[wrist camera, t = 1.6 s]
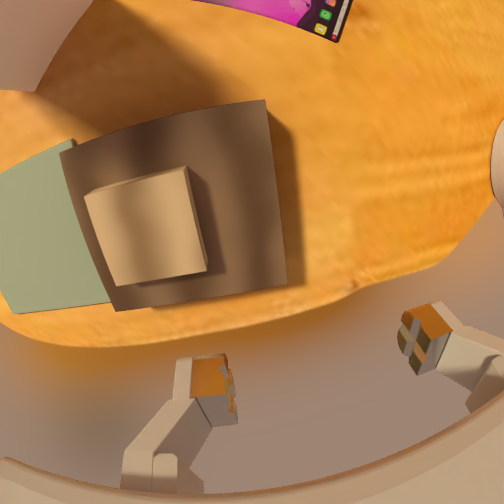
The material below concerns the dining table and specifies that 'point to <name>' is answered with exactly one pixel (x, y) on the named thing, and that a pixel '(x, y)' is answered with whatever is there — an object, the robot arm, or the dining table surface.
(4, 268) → the mat
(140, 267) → the coaster
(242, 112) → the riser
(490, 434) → the robot arm
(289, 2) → the smartphone
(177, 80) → the dining table surface
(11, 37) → the milk
